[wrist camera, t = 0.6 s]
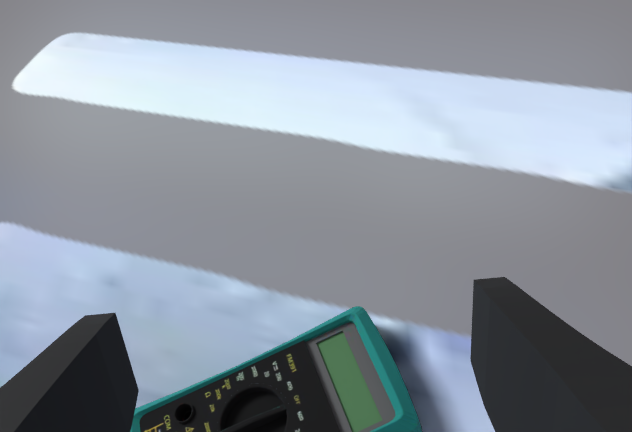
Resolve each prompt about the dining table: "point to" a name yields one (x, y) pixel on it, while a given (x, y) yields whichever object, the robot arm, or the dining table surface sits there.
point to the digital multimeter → (297, 388)
